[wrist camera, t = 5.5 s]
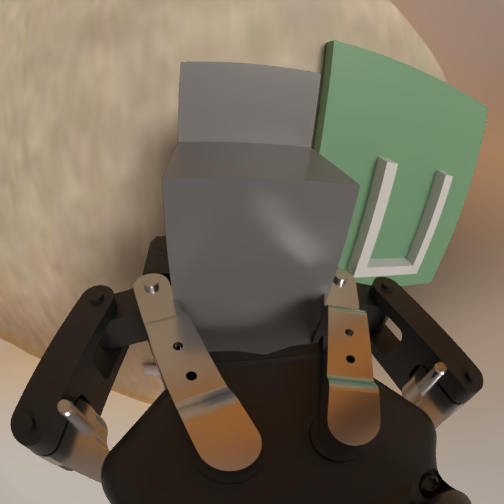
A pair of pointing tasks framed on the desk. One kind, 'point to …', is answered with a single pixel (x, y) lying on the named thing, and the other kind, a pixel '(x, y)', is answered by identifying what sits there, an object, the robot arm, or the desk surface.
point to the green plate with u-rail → (397, 160)
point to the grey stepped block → (252, 206)
